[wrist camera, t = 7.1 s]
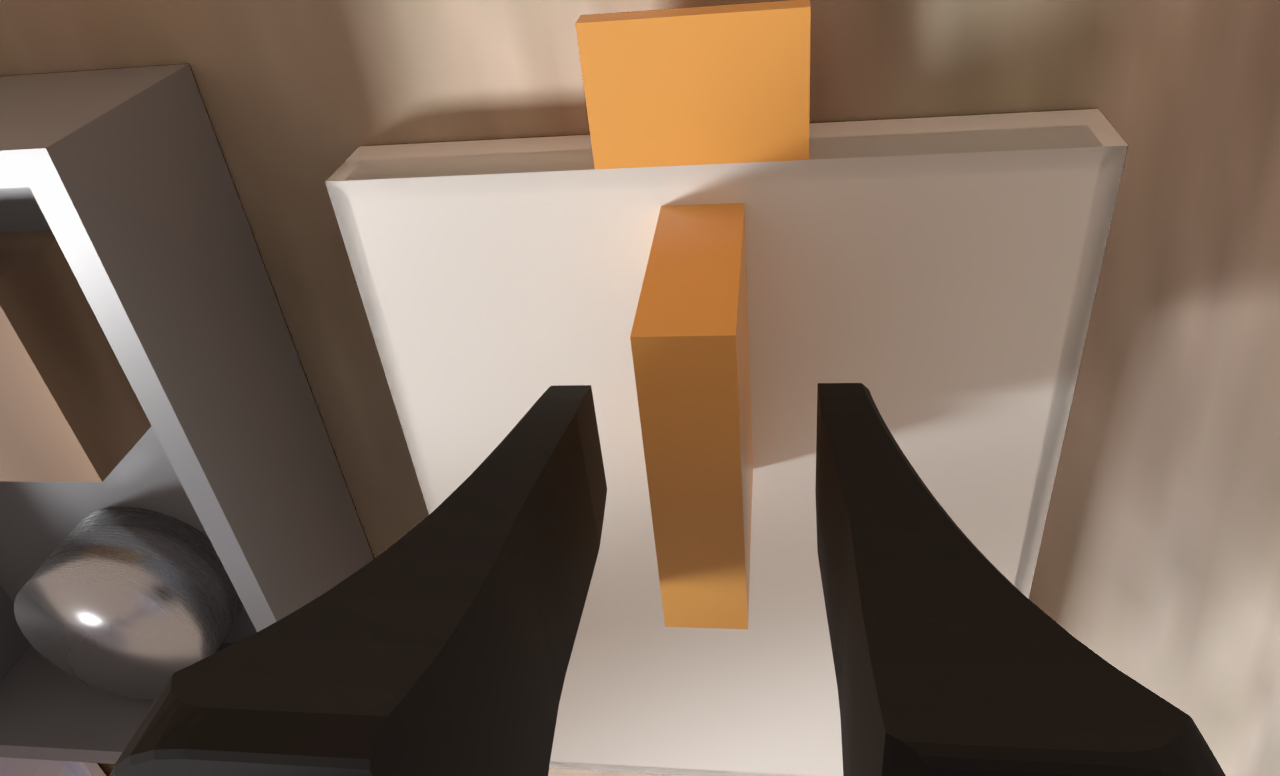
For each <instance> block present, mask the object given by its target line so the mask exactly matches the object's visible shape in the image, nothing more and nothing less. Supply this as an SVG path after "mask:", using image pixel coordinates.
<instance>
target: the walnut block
mask: <svg viewBox="0 0 1280 776" xmlns="http://www.w3.org/2000/svg"><path fill="white" fill-rule="evenodd" d="M150 427H151V424H150V422H149V420H148V418H147V416H146V414H145V412H144V410H143V408H142V406H141V404H140V402H139V400H138V398H137V396H136V394H135V392H134V390H133V389H132V387H131V385H130V383H129V381H128V379H127V377H126V375H125V373H124V371H123V369H122V367H121V365H120V363H119V361H118V359H117V357H116V355H115V353H114V351H113V349H112V348H111V346H110V344H109V342H108V340H107V338H106V336H105V334H104V332H103V330H102V328H101V326H100V324H99V322H98V320H97V318H96V316H95V314H94V312H93V310H92V308H91V306H90V305H89V303H88V301H87V299H86V297H85V295H84V293H83V291H82V289H81V287H80V285H79V283H78V281H77V279H76V277H75V275H74V273H73V271H72V269H71V267H70V265H69V263H68V262H67V260H66V258H65V256H64V254H63V252H62V250H61V248H60V246H59V244H58V242H57V240H56V238H55V236H54V234H53V232H52V231H42V232H15V233H0V481H14V482H103V481H104V480H105V479H106V477H107V476H108V475H109V474H110V473H111V472H112V471H113V469H114V468H115V467H116V466H117V465H118V464H119V463H120V461H121V460H122V459H123V458H124V457H125V456H126V455H127V454H128V452H129V451H130V450H131V449H132V448H133V447H134V446H135V444H136V443H137V442H138V441H139V440H140V439H141V438H142V437H143V435H144V434H145V433H146V432H147V431H148V430H149V429H150Z"/></svg>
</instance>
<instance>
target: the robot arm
mask: <svg viewBox="0 0 1280 776" xmlns="http://www.w3.org/2000/svg"><path fill="white" fill-rule="evenodd" d="M815 494H816V524H817V552H818V559H819V566H820V573H821V580H822V587H823V594H824V600H825V607H826V614H827V620H828V627H829V634H830V641H831V647H832V654H833V661H834V667H835V674H836V681H837V688H838V698H839V707H840V717H841V737H842V757H843V776H1225V774H1224V772H1223V770H1222V769H1221V767H1220V765H1219V763H1218V762H1217V760H1216V758H1215V756H1214V755H1213V753H1212V751H1211V750H1210V748H1209V746H1208V745H1207V743H1206V741H1205V740H1204V738H1203V736H1202V734H1201V733H1200V731H1199V729H1198V728H1197V726H1196V725H1195V723H1194V721H1193V720H1192V718H1191V717H1190V716H1189V715H1187V714H1186V713H1184V712H1183V711H1181V710H1180V709H1178V708H1177V707H1175V706H1173V705H1172V704H1170V703H1169V702H1167V701H1166V700H1164V699H1163V698H1161V697H1159V696H1158V695H1156V694H1155V693H1153V692H1152V691H1150V690H1149V689H1147V688H1146V687H1144V686H1142V685H1141V684H1139V683H1138V682H1136V681H1135V680H1133V679H1132V678H1130V677H1129V676H1127V675H1125V674H1124V673H1122V672H1121V671H1119V670H1118V669H1116V668H1115V667H1114V666H1112V665H1111V664H1109V663H1108V662H1107V661H1105V660H1104V659H1102V658H1101V657H1100V656H1098V655H1097V654H1096V653H1094V652H1093V651H1092V650H1090V649H1089V648H1088V647H1086V646H1085V645H1084V644H1082V643H1081V642H1080V641H1078V640H1077V639H1076V638H1074V637H1073V636H1072V635H1070V634H1069V633H1068V632H1067V631H1066V630H1065V629H1063V628H1062V627H1061V626H1060V625H1059V624H1057V623H1056V622H1055V621H1054V620H1053V619H1052V618H1050V617H1049V616H1048V615H1047V614H1046V613H1044V612H1043V611H1042V610H1041V609H1040V608H1039V607H1037V606H1036V605H1035V604H1034V603H1033V602H1032V601H1030V600H1029V599H1028V598H1027V597H1026V596H1025V595H1023V594H1022V593H1021V592H1020V591H1019V590H1018V589H1017V588H1016V587H1015V586H1014V585H1013V584H1012V583H1011V582H1010V581H1009V580H1008V579H1007V578H1006V577H1005V576H1004V575H1003V574H1002V573H1001V572H1000V571H999V570H998V569H997V568H996V567H995V566H994V565H993V564H992V563H991V562H990V561H989V560H988V559H987V558H986V557H985V556H984V555H983V554H982V553H981V552H980V551H979V550H978V549H977V548H976V546H975V545H974V544H973V543H972V542H971V541H970V540H969V539H968V538H967V536H966V535H965V534H964V533H963V532H962V531H961V529H960V528H959V527H958V526H957V525H956V524H955V522H954V521H953V520H952V519H951V517H950V516H949V515H948V514H947V512H946V511H945V510H944V509H943V507H942V506H941V505H940V504H939V502H938V501H937V500H936V499H935V497H934V496H933V495H932V493H931V492H930V491H929V489H928V488H927V487H926V485H925V484H924V482H923V481H922V480H921V478H920V477H919V475H918V474H917V472H916V471H915V469H914V468H913V466H912V465H911V464H910V462H909V461H908V459H907V458H906V456H905V455H904V453H903V452H902V450H901V449H900V447H899V445H898V444H897V442H896V441H895V439H894V437H893V435H892V434H891V432H890V430H889V429H888V427H887V425H886V423H885V422H884V420H883V418H882V416H881V414H880V412H879V410H878V409H877V407H876V404H875V402H874V400H873V398H872V396H871V393H870V391H869V389H868V388H867V387H866V386H864V385H863V384H862V383H818V388H817V438H816V487H815ZM606 495H607V485H606V478H605V472H604V465H603V459H602V452H601V446H600V440H599V433H598V427H597V420H596V414H595V407H594V401H593V394H592V388H591V385H558V386H550V387H549V388H548V389H547V390H546V391H545V392H544V393H543V395H542V396H541V397H540V398H539V399H538V400H537V401H536V402H535V404H534V405H533V406H532V407H531V408H530V409H529V411H528V412H527V413H526V414H525V415H524V416H523V418H522V419H521V420H520V421H519V422H518V423H517V425H516V426H515V427H514V428H513V429H512V430H511V431H510V433H509V434H508V435H507V436H506V437H505V438H504V439H503V440H502V442H501V443H500V444H499V445H498V446H497V447H496V448H495V449H494V450H493V451H492V452H491V454H490V455H489V456H488V457H487V458H486V459H485V460H484V461H483V462H482V463H481V464H480V465H479V467H478V468H477V469H476V470H475V471H474V472H473V473H472V474H471V475H470V476H469V477H468V478H467V479H466V480H465V481H464V482H463V483H462V484H461V485H460V486H459V487H458V488H457V489H456V490H455V491H454V492H453V493H452V494H451V495H450V496H449V497H448V498H446V499H445V500H444V501H443V502H442V503H441V504H440V505H439V506H438V507H437V508H436V509H435V510H434V511H433V512H432V513H431V514H430V515H429V516H427V517H426V518H425V519H424V520H423V521H422V522H421V523H419V524H418V525H417V526H416V527H415V528H414V529H412V530H411V531H410V532H409V533H407V534H406V535H405V536H404V537H402V538H401V539H400V540H399V541H397V542H396V543H395V544H394V545H392V546H391V547H390V548H389V549H387V550H386V551H385V552H383V553H382V554H381V555H379V556H378V557H377V558H375V559H374V560H372V561H371V562H369V563H368V564H366V565H365V566H364V567H362V568H361V569H359V570H358V571H356V572H355V573H353V574H352V575H350V576H349V577H348V578H346V579H345V580H343V581H342V582H340V583H339V584H337V585H336V586H335V587H333V588H332V589H330V590H329V591H327V592H326V593H324V594H322V595H321V596H319V597H318V598H316V599H314V600H313V601H311V602H309V603H308V604H306V605H304V606H303V607H301V608H299V609H298V610H296V611H294V612H293V613H291V614H289V615H287V616H286V617H284V618H282V619H280V620H279V621H277V622H275V623H273V624H271V625H270V626H268V627H266V628H264V629H262V630H261V631H259V632H257V633H255V634H253V635H251V636H249V637H247V638H245V639H243V640H241V641H239V642H237V643H235V644H233V645H231V646H229V647H227V648H225V649H223V650H221V651H219V652H217V653H215V654H213V655H210V656H208V657H206V658H204V659H202V660H200V661H198V662H196V663H194V664H192V665H190V666H188V667H185V668H183V669H181V670H179V671H177V672H174V673H173V675H172V676H171V678H170V679H169V681H168V682H167V683H166V685H165V686H164V688H163V689H162V691H161V692H160V694H159V695H158V697H157V698H156V700H155V701H154V703H153V704H152V706H151V707H150V709H149V711H148V712H147V714H146V716H145V717H144V719H143V720H142V722H141V724H140V725H139V727H138V728H137V730H136V732H135V733H134V735H133V736H132V738H131V740H130V741H129V743H128V744H127V746H126V748H125V749H124V751H123V752H122V754H121V756H120V757H119V759H118V760H117V762H116V764H115V765H114V767H113V769H112V771H111V773H110V775H109V776H548V771H549V764H550V758H551V752H552V745H553V739H554V733H555V727H556V720H557V714H558V708H559V702H560V698H561V693H562V689H563V684H564V680H565V675H566V672H567V668H568V664H569V660H570V657H571V653H572V649H573V646H574V642H575V638H576V635H577V631H578V627H579V624H580V620H581V616H582V613H583V609H584V605H585V601H586V598H587V594H588V590H589V587H590V583H591V579H592V575H593V571H594V568H595V564H596V560H597V556H598V552H599V548H600V541H601V534H602V527H603V520H604V512H605V503H606ZM0 776H106V774H105V773H104V772H103V770H102V769H101V768H100V766H99V765H98V764H97V763H88V762H72V761H55V760H39V759H22V758H5V757H0Z"/></svg>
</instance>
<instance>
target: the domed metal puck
mask: <svg viewBox="0 0 1280 776" xmlns="http://www.w3.org/2000/svg"><path fill="white" fill-rule="evenodd" d="M243 606H244V605H243V604H242V602H241V600H240V598H239V596H238V594H237V592H236V590H235V588H234V586H233V584H232V582H231V580H230V578H229V576H228V574H227V572H226V570H225V568H224V566H223V564H222V562H221V561H220V559H219V557H218V555H217V553H216V551H215V549H214V547H213V545H212V543H211V541H210V539H209V537H207V536H206V535H204V534H203V533H202V532H200V531H199V530H197V529H195V528H193V527H192V526H190V525H188V524H186V523H184V522H182V521H180V520H178V519H176V518H173V517H171V516H168V515H165V514H163V513H159V512H156V511H152V510H147V509H142V508H135V507H110V508H104V509H101V510H97V511H95V512H93V513H90V514H89V515H87V516H86V517H84V518H83V519H82V520H81V521H80V522H79V523H78V524H77V526H76V527H75V528H74V529H73V530H72V531H71V532H70V534H69V535H68V536H67V537H66V538H65V539H64V540H63V542H62V543H61V544H60V545H59V546H58V547H57V548H56V550H55V551H54V552H53V553H52V554H51V555H50V556H49V558H48V559H47V560H46V561H45V562H44V563H43V564H42V566H41V567H40V568H39V569H38V570H37V571H36V572H35V574H34V575H33V576H32V577H31V578H30V579H29V580H28V582H27V583H26V584H25V585H24V586H23V587H22V588H21V590H20V591H19V592H18V594H17V596H16V598H15V602H14V614H15V618H16V621H17V623H18V626H19V628H20V629H21V631H22V633H23V635H24V636H25V637H26V639H27V640H28V641H29V642H30V644H31V645H32V646H33V647H34V648H35V649H36V650H37V651H38V652H39V653H40V654H41V655H42V656H44V657H45V658H46V659H47V660H49V661H50V662H51V663H52V664H54V665H55V666H57V667H58V668H60V669H61V670H63V671H64V672H66V673H68V674H69V675H71V676H73V677H74V678H76V679H78V680H80V681H82V682H85V683H87V684H89V685H91V686H94V687H96V688H99V689H102V690H105V691H107V692H111V693H114V694H118V695H122V696H127V697H132V698H139V699H156V698H157V697H158V695H159V694H160V692H161V691H162V689H163V688H164V686H165V685H166V683H167V682H168V681H169V679H170V678H171V676H172V675H173V673H174V672H177V671H179V670H181V669H183V668H185V667H188V666H190V665H192V664H194V663H196V662H198V661H200V660H202V659H204V658H206V657H208V656H210V655H213V654H215V653H216V651H217V650H218V648H219V646H220V645H221V643H222V641H223V640H224V638H225V636H226V635H227V633H228V631H229V630H230V628H231V627H232V625H233V623H234V622H235V620H236V618H237V617H238V615H239V613H240V612H241V610H242V608H243Z"/></svg>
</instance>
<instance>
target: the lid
mask: <svg viewBox="0 0 1280 776" xmlns="http://www.w3.org/2000/svg"><path fill="white" fill-rule="evenodd" d="M810 26H811V5H810V0H789V1H775V2H761V3H747V4H733V5H719V6H705V7H691V8H677V9H663V10H648V11H634V12H620V13H606V14H592V15H581V16H580V17H579V19H578V20H577V22H576V30H577V38H578V46H579V53H580V61H581V68H582V76H583V84H584V91H585V99H586V107H587V114H588V122H589V130H590V135H575V136H555V137H535V138H516V139H496V140H476V141H457V142H437V143H418V144H398V145H378V146H359V147H358V148H357V149H356V150H355V151H354V152H353V153H352V154H351V155H350V156H349V157H348V158H347V159H346V161H345V162H344V163H343V164H342V165H341V166H340V167H339V168H338V169H337V170H336V171H335V172H334V173H333V174H332V175H331V176H330V177H329V178H328V179H327V180H326V181H325V183H326V187H327V190H328V193H329V196H330V199H331V203H332V206H333V209H334V212H335V215H336V219H337V222H338V225H339V228H340V231H341V235H342V238H343V241H344V244H345V247H346V251H347V254H348V257H349V260H350V263H351V267H352V270H353V273H354V276H355V279H356V283H357V286H358V289H359V292H360V296H361V299H362V302H363V305H364V308H365V312H366V315H367V318H368V321H369V324H370V328H371V331H372V334H373V337H374V340H375V344H376V347H377V350H378V353H379V356H380V360H381V363H382V366H383V369H384V372H385V376H386V379H387V382H388V385H389V388H390V392H391V395H392V398H393V401H394V404H395V408H396V411H397V414H398V417H399V420H400V424H401V427H402V430H403V433H404V436H405V440H406V443H407V446H408V449H409V452H410V456H411V459H412V462H413V465H414V468H415V472H416V475H417V478H418V481H419V484H420V488H421V491H422V494H423V497H424V500H425V504H426V507H427V510H428V513H429V515H430V514H431V513H432V512H433V511H434V510H435V509H436V508H437V507H438V506H439V505H440V504H441V503H442V502H443V501H444V500H445V499H446V498H448V497H449V496H450V495H451V494H452V493H453V492H454V491H455V490H456V489H457V488H458V487H459V486H460V485H461V484H462V483H463V482H464V481H465V480H466V479H467V478H468V477H469V476H470V475H471V474H472V473H473V472H474V471H475V470H476V469H477V468H478V467H479V465H480V464H481V463H482V462H483V461H484V460H485V459H486V458H487V457H488V456H489V455H490V454H491V452H492V451H493V450H494V449H495V448H496V447H497V446H498V445H499V444H500V443H501V442H502V440H503V439H504V438H505V437H506V436H507V435H508V434H509V433H510V431H511V430H512V429H513V428H514V427H515V426H516V425H517V423H518V422H519V421H520V420H521V419H522V418H523V416H524V415H525V414H526V413H527V412H528V411H529V409H530V408H531V407H532V406H533V405H534V404H535V402H536V401H537V400H538V399H539V398H540V397H541V396H542V395H543V393H544V392H545V391H546V390H547V389H548V388H549V387H550V386H558V385H591V388H592V394H593V401H594V407H595V414H596V420H597V427H598V433H599V440H600V446H601V452H602V459H603V465H604V472H605V478H606V485H607V495H606V503H605V512H604V520H603V527H602V534H601V541H600V548H599V552H598V556H597V560H596V564H595V568H594V571H593V575H592V579H591V583H590V587H589V590H588V594H587V598H586V601H585V605H584V609H583V613H582V616H581V620H580V624H579V627H578V631H577V635H576V638H575V642H574V646H573V649H572V653H571V657H570V660H569V664H568V668H567V672H566V675H565V680H564V684H563V689H562V693H561V698H560V702H559V708H558V714H557V720H556V727H555V733H554V739H553V745H552V752H551V758H550V764H549V768H554V769H572V770H590V771H607V772H625V773H643V774H661V775H678V776H843V757H842V737H841V717H840V707H839V698H838V688H837V681H836V674H835V667H834V661H833V654H832V647H831V641H830V634H829V627H828V620H827V614H826V607H825V600H824V594H823V587H822V580H821V573H820V566H819V559H818V552H817V524H816V494H815V487H816V438H817V388H818V383H862V384H863V385H864V386H866V387H867V388H868V389H869V391H870V393H871V396H872V398H873V400H874V402H875V404H876V407H877V409H878V410H879V412H880V414H881V416H882V418H883V420H884V422H885V423H886V425H887V427H888V429H889V430H890V432H891V434H892V435H893V437H894V439H895V441H896V442H897V444H898V445H899V447H900V449H901V450H902V452H903V453H904V455H905V456H906V458H907V459H908V461H909V462H910V464H911V465H912V466H913V468H914V469H915V471H916V472H917V474H918V475H919V477H920V478H921V480H922V481H923V482H924V484H925V485H926V487H927V488H928V489H929V491H930V492H931V493H932V495H933V496H934V497H935V499H936V500H937V501H938V502H939V504H940V505H941V506H942V507H943V509H944V510H945V511H946V512H947V514H948V515H949V516H950V517H951V519H952V520H953V521H954V522H955V524H956V525H957V526H958V527H959V528H960V529H961V531H962V532H963V533H964V534H965V535H966V536H967V538H968V539H969V540H970V541H971V542H972V543H973V544H974V545H975V546H976V548H977V549H978V550H979V551H980V552H981V553H982V554H983V555H984V556H985V557H986V558H987V559H988V560H989V561H990V562H991V563H992V564H993V565H994V566H995V567H996V568H997V569H998V570H999V571H1000V572H1001V573H1002V574H1003V575H1004V576H1005V577H1006V578H1007V579H1008V580H1009V581H1010V582H1011V583H1012V584H1013V585H1014V586H1015V587H1016V588H1017V589H1018V590H1019V591H1020V592H1021V593H1022V594H1023V595H1025V596H1026V597H1027V598H1028V599H1029V595H1030V590H1031V586H1032V581H1033V577H1034V572H1035V567H1036V563H1037V558H1038V554H1039V549H1040V545H1041V540H1042V536H1043V531H1044V526H1045V522H1046V517H1047V513H1048V508H1049V504H1050V499H1051V495H1052V490H1053V485H1054V481H1055V476H1056V472H1057V467H1058V463H1059V458H1060V454H1061V449H1062V445H1063V440H1064V435H1065V431H1066V426H1067V422H1068V417H1069V413H1070V408H1071V404H1072V399H1073V394H1074V390H1075V385H1076V381H1077V376H1078V372H1079V367H1080V363H1081V358H1082V353H1083V349H1084V344H1085V340H1086V335H1087V331H1088V326H1089V322H1090V317H1091V312H1092V308H1093V303H1094V299H1095V294H1096V290H1097V285H1098V281H1099V276H1100V272H1101V267H1102V262H1103V258H1104V253H1105V249H1106V244H1107V240H1108V235H1109V231H1110V226H1111V221H1112V217H1113V212H1114V208H1115V203H1116V199H1117V194H1118V190H1119V185H1120V180H1121V176H1122V171H1123V167H1124V162H1125V158H1126V153H1127V149H1128V145H1127V143H1126V142H1125V141H1124V140H1123V139H1122V137H1121V136H1120V135H1119V134H1118V132H1117V131H1116V130H1115V129H1114V128H1113V126H1112V125H1111V124H1110V123H1109V122H1108V120H1107V119H1106V118H1105V117H1104V115H1103V114H1102V113H1101V112H1100V111H1099V109H1085V110H1065V111H1045V112H1026V113H1006V114H986V115H967V116H947V117H928V118H908V119H888V120H869V121H849V122H830V123H810V124H809V114H810Z"/></svg>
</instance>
